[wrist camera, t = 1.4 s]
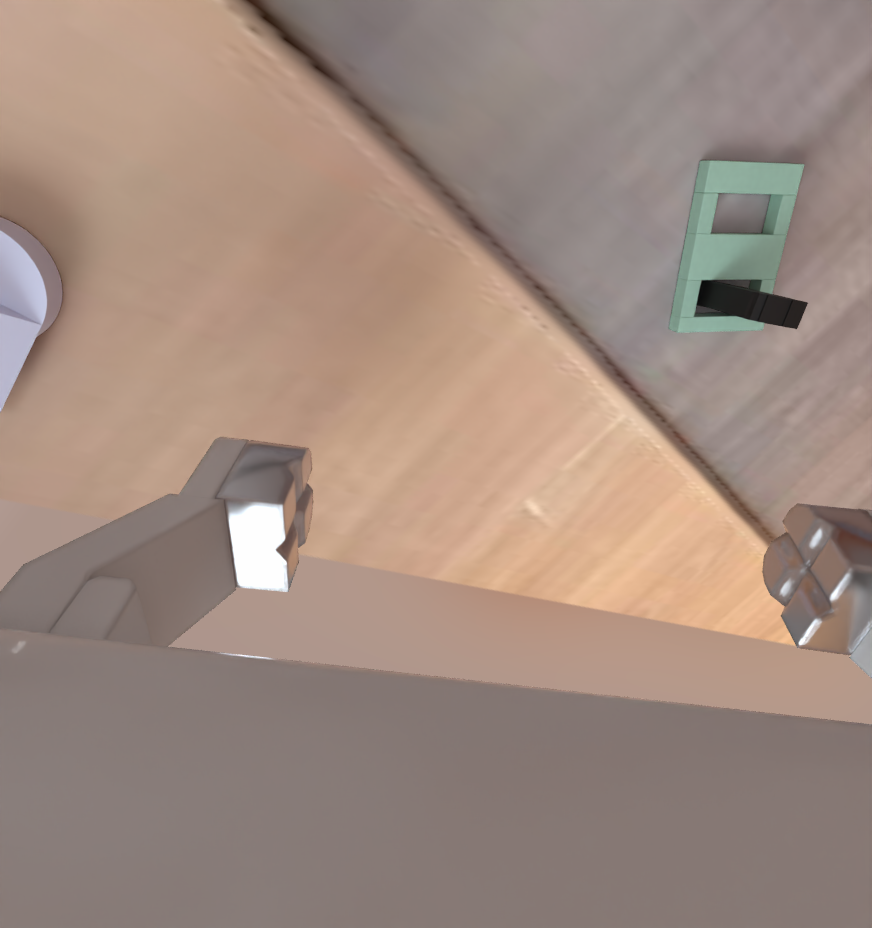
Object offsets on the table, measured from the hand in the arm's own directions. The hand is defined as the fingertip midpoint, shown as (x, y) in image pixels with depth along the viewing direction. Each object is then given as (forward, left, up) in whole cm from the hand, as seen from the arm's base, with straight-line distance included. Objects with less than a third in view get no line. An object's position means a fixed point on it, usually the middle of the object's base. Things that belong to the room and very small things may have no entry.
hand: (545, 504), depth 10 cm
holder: (0, +34, -42) cm, 54 cm away
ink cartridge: (+4, +34, -42) cm, 55 cm away
